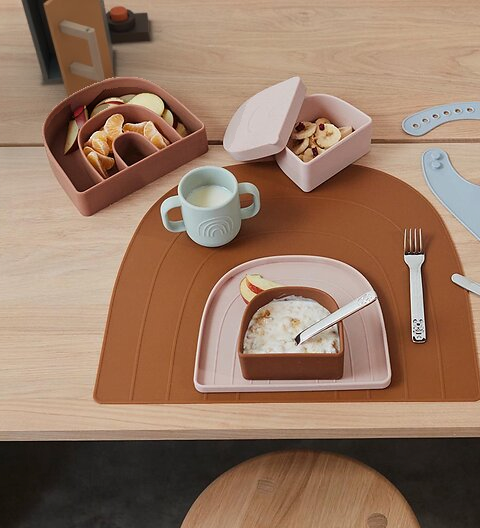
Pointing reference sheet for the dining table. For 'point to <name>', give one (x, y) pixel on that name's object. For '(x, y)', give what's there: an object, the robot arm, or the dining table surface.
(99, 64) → the cupboard door
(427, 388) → the dining table surface
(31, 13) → the cupboard
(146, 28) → the control block
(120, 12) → the button
